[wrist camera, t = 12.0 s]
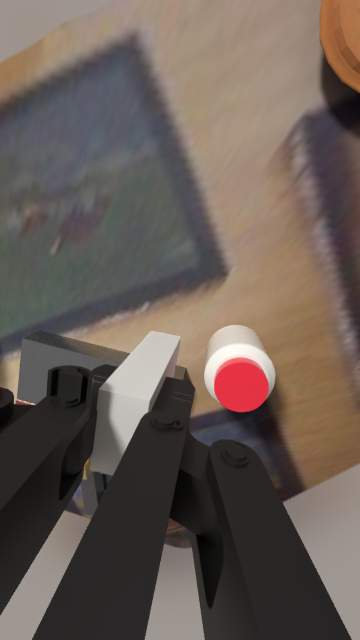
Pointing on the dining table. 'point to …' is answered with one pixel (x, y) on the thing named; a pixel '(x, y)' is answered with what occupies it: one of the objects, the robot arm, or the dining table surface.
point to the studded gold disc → (91, 488)
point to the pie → (342, 39)
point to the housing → (60, 351)
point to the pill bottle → (238, 369)
